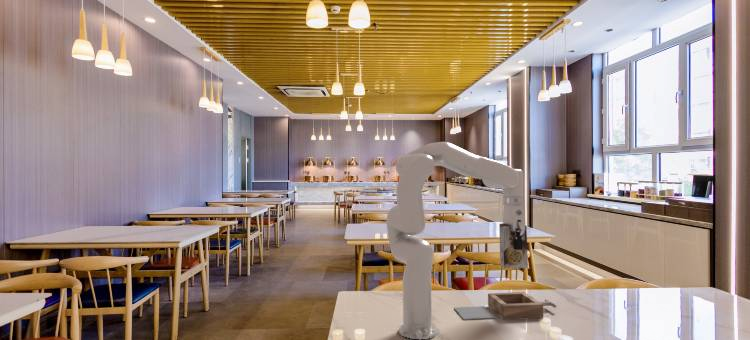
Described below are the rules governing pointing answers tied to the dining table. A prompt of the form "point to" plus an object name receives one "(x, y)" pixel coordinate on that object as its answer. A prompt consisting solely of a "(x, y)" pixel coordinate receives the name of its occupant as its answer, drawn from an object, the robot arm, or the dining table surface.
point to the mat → (474, 313)
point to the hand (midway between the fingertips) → (513, 247)
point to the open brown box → (517, 305)
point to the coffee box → (507, 253)
